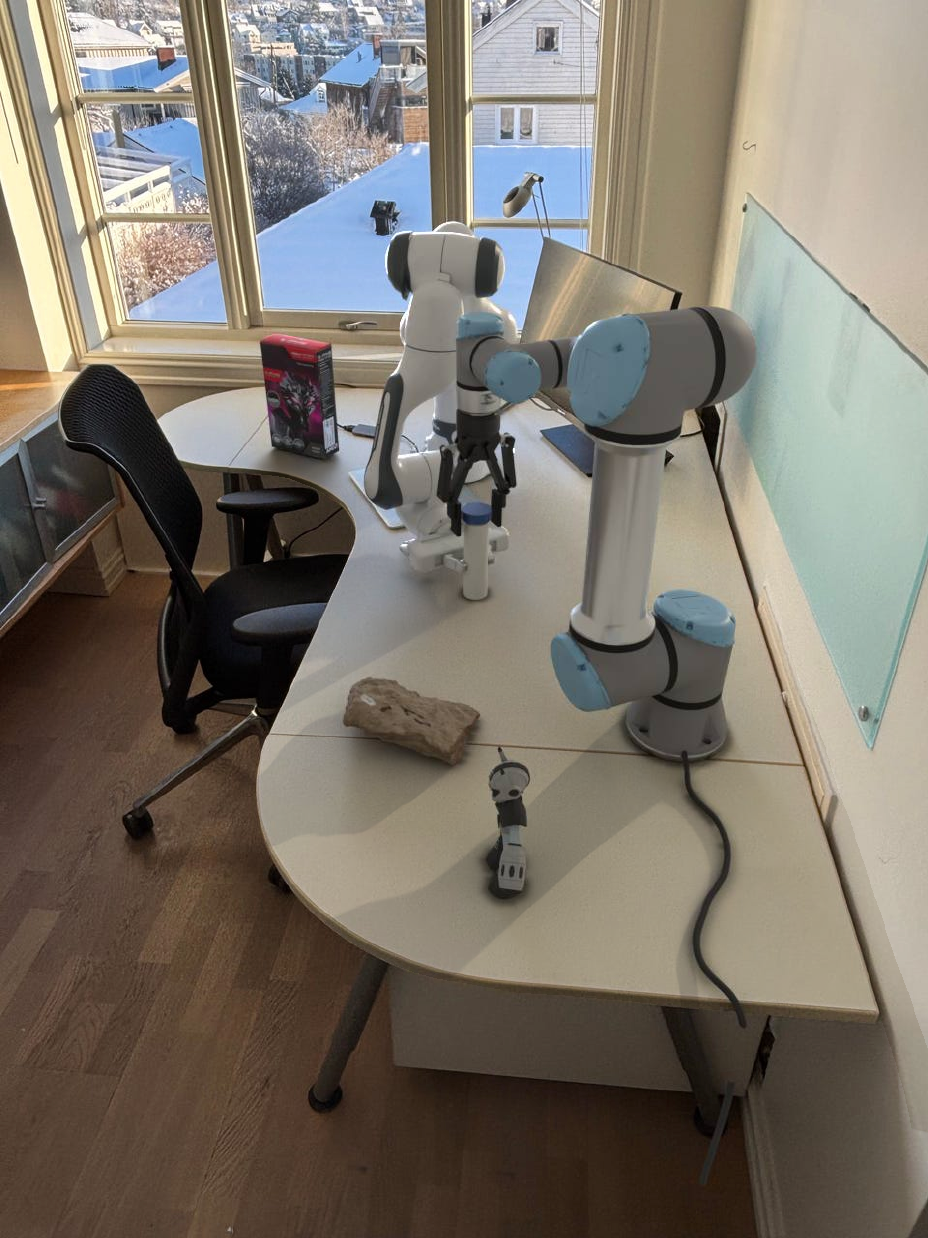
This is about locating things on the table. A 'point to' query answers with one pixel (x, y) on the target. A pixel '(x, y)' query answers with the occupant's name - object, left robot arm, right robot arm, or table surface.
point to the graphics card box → (300, 395)
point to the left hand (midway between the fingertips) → (478, 564)
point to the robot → (508, 827)
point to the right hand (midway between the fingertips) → (476, 528)
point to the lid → (476, 513)
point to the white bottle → (476, 561)
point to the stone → (410, 718)
